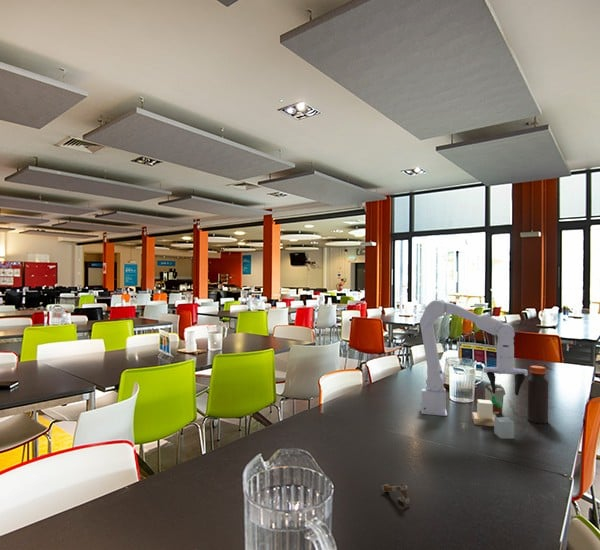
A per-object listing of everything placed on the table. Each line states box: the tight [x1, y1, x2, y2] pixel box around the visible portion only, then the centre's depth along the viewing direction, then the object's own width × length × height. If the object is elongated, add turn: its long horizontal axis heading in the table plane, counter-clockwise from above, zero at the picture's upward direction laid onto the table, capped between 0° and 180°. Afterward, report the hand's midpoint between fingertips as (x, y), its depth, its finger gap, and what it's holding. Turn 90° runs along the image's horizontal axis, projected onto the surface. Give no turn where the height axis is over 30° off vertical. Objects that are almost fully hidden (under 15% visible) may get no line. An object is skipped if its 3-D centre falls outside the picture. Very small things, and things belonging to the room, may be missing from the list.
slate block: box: [493, 416, 515, 440], centre depth 140 cm, size 4×4×6 cm
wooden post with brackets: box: [381, 482, 411, 506], centre depth 99 cm, size 2×8×4 cm, turn 31°
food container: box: [484, 382, 506, 417], centre depth 164 cm, size 12×6×10 cm, turn 168°
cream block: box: [476, 398, 493, 419], centre depth 154 cm, size 4×4×6 cm
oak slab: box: [471, 411, 497, 427], centre depth 154 cm, size 8×8×2 cm
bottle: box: [526, 365, 549, 425], centre depth 155 cm, size 7×7×20 cm
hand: (505, 393), depth 154 cm, fingers open, 7 cm apart
